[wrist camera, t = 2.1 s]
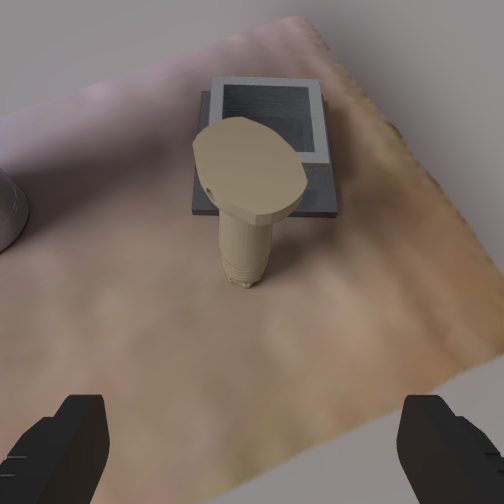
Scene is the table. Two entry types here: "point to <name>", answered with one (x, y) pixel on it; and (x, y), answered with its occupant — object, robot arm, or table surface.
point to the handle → (247, 190)
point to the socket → (283, 123)
